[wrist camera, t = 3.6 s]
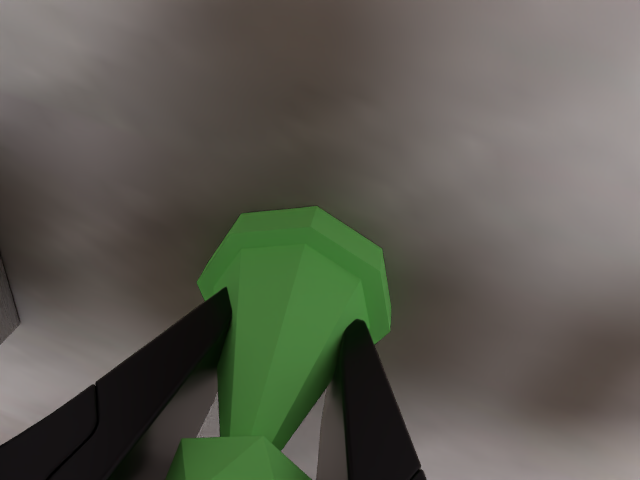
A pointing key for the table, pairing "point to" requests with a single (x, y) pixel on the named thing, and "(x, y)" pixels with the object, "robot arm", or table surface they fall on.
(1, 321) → the track
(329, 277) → the game piece
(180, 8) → the table surface
